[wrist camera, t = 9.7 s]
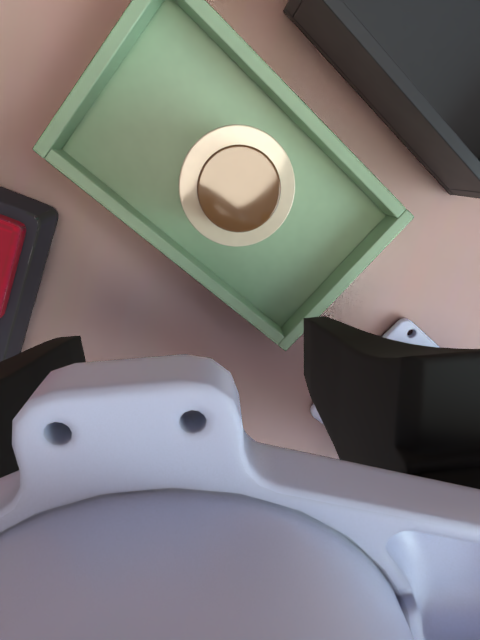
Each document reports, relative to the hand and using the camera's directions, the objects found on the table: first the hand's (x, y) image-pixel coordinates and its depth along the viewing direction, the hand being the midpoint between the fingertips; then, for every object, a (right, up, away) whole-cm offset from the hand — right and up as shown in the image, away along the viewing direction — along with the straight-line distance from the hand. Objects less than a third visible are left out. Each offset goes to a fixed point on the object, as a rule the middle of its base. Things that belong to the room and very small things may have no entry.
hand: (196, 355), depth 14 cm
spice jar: (+1, +8, +7) cm, 11 cm away
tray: (+1, +8, +8) cm, 11 cm away
